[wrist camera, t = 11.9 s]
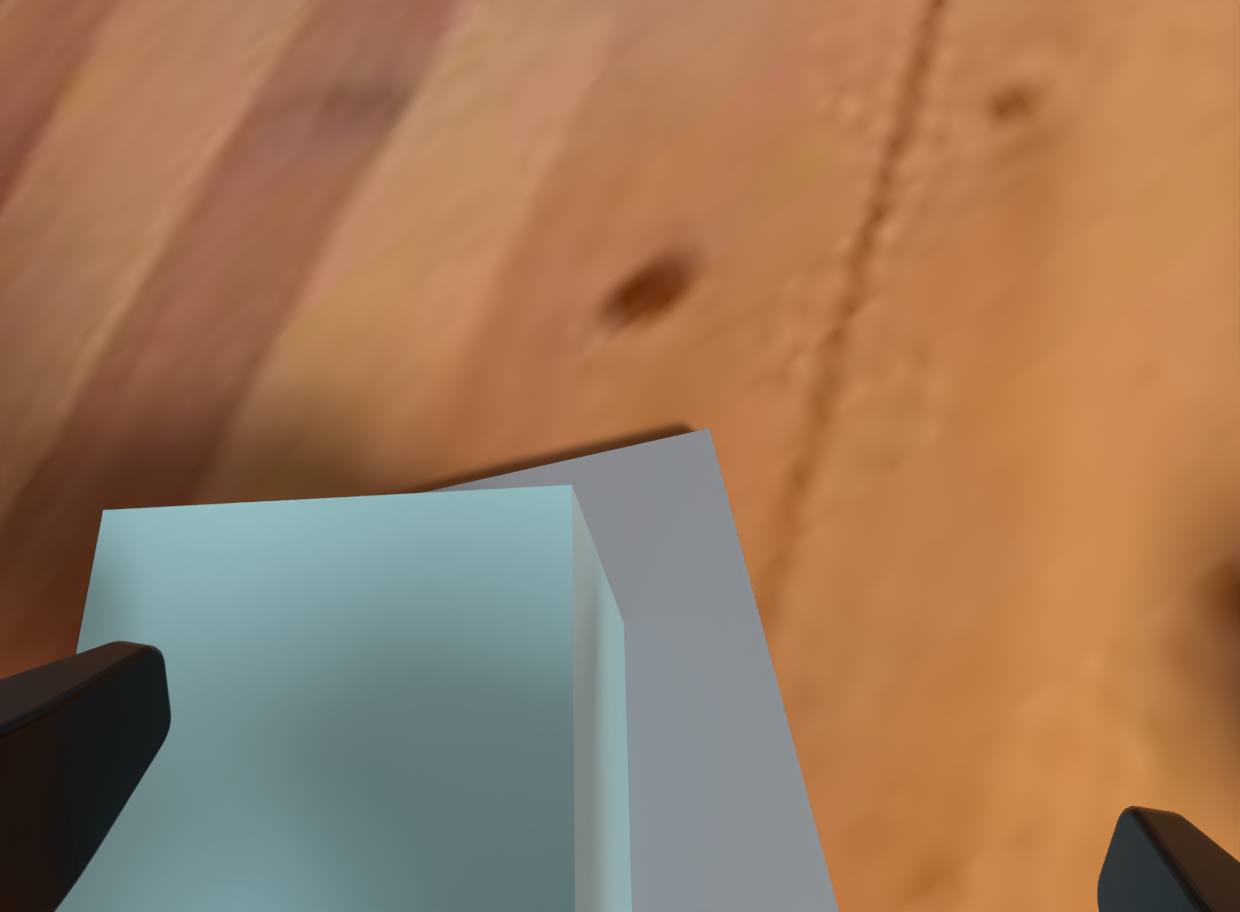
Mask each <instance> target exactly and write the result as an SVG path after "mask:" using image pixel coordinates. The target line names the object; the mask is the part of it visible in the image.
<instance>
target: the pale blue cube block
mask: <svg viewBox="0 0 1240 912" xmlns="http://www.w3.org/2000/svg"><path fill="white" fill-rule="evenodd" d="M114 641H129V642H135V643H141V644H147V645H153V646H155V647H157V648H158V649H159V650H160V651H161V652H162V654H163V656H164V660H165V666H166V675H167V683H168V691H169V700H170V708H171V724H170V729H169V732H168V735H167V737H166V740H165V742H164V744H163V745H162V747H161V749H160V750H159V752H158V753H157V755H156V757H155V758H154V760H153V761H152V763H151V765H150V766H149V768H148V770H147V771H146V773H145V774H144V776H143V778H142V779H141V781H140V783H139V784H138V786H137V787H136V789H135V791H134V792H133V794H132V796H131V797H130V799H129V800H128V802H127V804H126V805H125V807H124V808H123V810H122V812H121V813H120V815H119V817H118V818H117V820H116V821H115V823H114V825H113V826H112V828H111V830H110V831H109V833H108V834H107V836H106V838H105V839H104V841H103V842H102V844H101V846H100V847H99V849H98V851H97V852H96V854H95V855H94V857H93V858H92V860H91V861H90V863H89V864H88V866H87V867H86V869H85V871H84V872H83V874H82V875H81V877H80V878H79V880H78V881H77V882H76V884H75V885H74V886H73V888H72V889H71V891H70V892H69V893H68V895H67V896H66V898H65V899H64V900H63V902H62V903H61V904H60V906H59V907H58V908H57V910H56V911H55V912H632V898H631V861H630V825H629V789H628V753H627V716H626V680H625V644H624V622H623V620H622V617H621V614H620V612H619V609H618V606H617V604H616V601H615V598H614V596H613V593H612V590H611V588H610V585H609V582H608V580H607V577H606V574H605V572H604V569H603V566H602V564H601V561H600V558H599V556H598V553H597V550H596V548H595V545H594V542H593V540H592V537H591V534H590V532H589V529H588V526H587V524H586V521H585V518H584V516H583V513H582V510H581V508H580V505H579V502H578V500H577V497H576V495H575V492H574V489H573V487H572V485H559V486H541V487H522V488H504V489H485V490H467V491H448V492H430V493H411V494H393V495H374V496H356V497H338V498H319V499H301V500H282V501H264V502H245V503H227V504H208V505H190V506H171V507H153V508H134V509H116V510H103V515H102V520H101V525H100V530H99V536H98V541H97V546H96V551H95V557H94V562H93V567H92V572H91V578H90V583H89V588H88V594H87V599H86V604H85V609H84V615H83V620H82V625H81V630H80V636H79V641H78V646H77V651H76V654H78V653H81V652H84V651H87V650H90V649H93V648H95V647H98V646H101V645H104V644H107V643H110V642H114Z"/></svg>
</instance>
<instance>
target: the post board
mask: <svg viewBox="0 0 1240 912" xmlns="http://www.w3.org/2000/svg"><path fill="white" fill-rule="evenodd" d="M559 485H572V487H573V489H574V492H575V495H576V497H577V500H578V502H579V505H580V508H581V510H582V513H583V516H584V518H585V521H586V524H587V526H588V529H589V532H590V534H591V537H592V540H593V542H594V545H595V548H596V550H597V553H598V556H599V558H600V561H601V564H602V566H603V569H604V572H605V574H606V577H607V580H608V582H609V585H610V588H611V590H612V593H613V596H614V598H615V601H616V604H617V606H618V609H619V612H620V614H621V617H622V620H623V622H624V644H625V680H626V716H627V753H628V789H629V825H630V861H631V898H632V912H839V911H838V907H837V903H836V899H835V896H834V892H833V888H832V884H831V881H830V877H829V873H828V870H827V866H826V862H825V858H824V855H823V851H822V847H821V843H820V840H819V836H818V832H817V828H816V825H815V821H814V817H813V814H812V810H811V806H810V802H809V799H808V795H807V791H806V787H805V784H804V780H803V776H802V773H801V769H800V765H799V761H798V758H797V754H796V750H795V746H794V743H793V739H792V735H791V732H790V728H789V724H788V720H787V717H786V713H785V709H784V705H783V702H782V698H781V694H780V690H779V687H778V683H777V679H776V676H775V672H774V668H773V664H772V661H771V657H770V653H769V649H768V646H767V642H766V638H765V635H764V631H763V627H762V623H761V620H760V616H759V612H758V608H757V605H756V601H755V597H754V593H753V590H752V586H751V582H750V579H749V575H748V571H747V567H746V564H745V560H744V556H743V552H742V549H741V545H740V541H739V538H738V534H737V530H736V526H735V523H734V519H733V515H732V511H731V508H730V504H729V500H728V496H727V493H726V489H725V485H724V482H723V478H722V474H721V470H720V467H719V463H718V459H717V455H716V452H715V448H714V444H713V441H712V437H711V433H710V429H709V428H708V429H704V430H699V431H695V432H691V433H686V434H682V435H677V436H673V437H668V438H664V439H659V440H655V441H650V442H646V443H642V444H637V445H633V446H628V447H624V448H619V449H615V450H610V451H606V452H601V453H597V454H593V455H588V456H584V457H579V458H575V459H570V460H566V461H561V462H557V463H552V464H548V465H544V466H539V467H535V468H530V469H526V470H521V471H517V472H512V473H508V474H503V475H499V476H495V477H490V478H486V479H481V480H477V481H472V482H468V483H463V484H459V485H454V486H450V487H446V488H441V489H437V490H432V491H428V492H423V493H430V492H448V491H467V490H485V489H504V488H522V487H541V486H559Z"/></svg>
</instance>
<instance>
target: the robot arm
mask: <svg viewBox="0 0 1240 912" xmlns="http://www.w3.org/2000/svg"><path fill="white" fill-rule="evenodd" d="M170 724H171V708H170V700H169V691H168V683H167V675H166V666H165V660H164V656H163V654H162V652H161V651H160V650H159V649H158V648H157V647H155V646H153V645H147V644H141V643H135V642H129V641H114V642H110V643H107V644H104V645H101V646H98V647H95V648H93V649H90V650H87V651H84V652H81V653H78V654H75V655H72V656H69V657H66V658H63V659H60V660H57V661H54V662H51V663H48V664H45V665H42V666H40V667H37V668H34V669H31V670H28V671H25V672H22V673H19V674H16V675H13V676H10V677H7V678H4V679H1V680H0V912H55V911H56V910H57V908H58V907H59V906H60V904H61V903H62V902H63V900H64V899H65V898H66V896H67V895H68V893H69V892H70V891H71V889H72V888H73V886H74V885H75V884H76V882H77V881H78V880H79V878H80V877H81V875H82V874H83V872H84V871H85V869H86V867H87V866H88V864H89V863H90V861H91V860H92V858H93V857H94V855H95V854H96V852H97V851H98V849H99V847H100V846H101V844H102V842H103V841H104V839H105V838H106V836H107V834H108V833H109V831H110V830H111V828H112V826H113V825H114V823H115V821H116V820H117V818H118V817H119V815H120V813H121V812H122V810H123V808H124V807H125V805H126V804H127V802H128V800H129V799H130V797H131V796H132V794H133V792H134V791H135V789H136V787H137V786H138V784H139V783H140V781H141V779H142V778H143V776H144V774H145V773H146V771H147V770H148V768H149V766H150V765H151V763H152V761H153V760H154V758H155V757H156V755H157V753H158V752H159V750H160V749H161V747H162V745H163V744H164V742H165V740H166V737H167V735H168V732H169V729H170ZM1097 899H1098V908H1099V912H1240V862H1239V861H1238V860H1236V859H1235V858H1234V857H1233V856H1231V855H1230V854H1229V853H1228V852H1226V851H1225V850H1224V849H1223V848H1221V847H1220V846H1219V845H1218V844H1216V843H1215V842H1214V841H1213V840H1211V839H1210V838H1209V837H1208V836H1206V835H1205V834H1204V833H1203V832H1201V831H1200V830H1199V829H1198V828H1196V827H1195V826H1194V825H1193V824H1191V823H1190V822H1189V821H1188V820H1186V819H1185V818H1184V817H1182V816H1181V815H1179V814H1177V813H1174V812H1170V811H1163V810H1157V809H1151V808H1145V807H1139V806H1131V807H1128V808H1126V809H1124V811H1123V812H1122V813H1121V815H1120V816H1119V819H1118V821H1117V824H1116V827H1115V830H1114V833H1113V836H1112V839H1111V842H1110V845H1109V848H1108V851H1107V854H1106V857H1105V861H1104V864H1103V867H1102V870H1101V873H1100V876H1099V880H1098V889H1097Z"/></svg>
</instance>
